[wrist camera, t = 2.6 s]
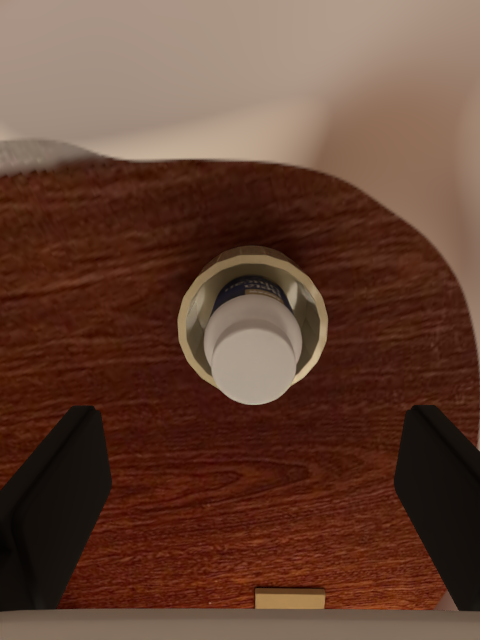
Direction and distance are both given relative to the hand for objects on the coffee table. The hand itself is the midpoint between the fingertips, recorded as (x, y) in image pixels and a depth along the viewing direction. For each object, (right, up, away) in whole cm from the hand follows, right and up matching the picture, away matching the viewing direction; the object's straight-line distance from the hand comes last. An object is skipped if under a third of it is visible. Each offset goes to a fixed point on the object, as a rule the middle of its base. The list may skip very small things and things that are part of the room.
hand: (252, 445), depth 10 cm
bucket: (0, +5, +15) cm, 16 cm away
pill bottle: (0, +5, +15) cm, 15 cm away
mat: (+5, -27, +25) cm, 37 cm away
